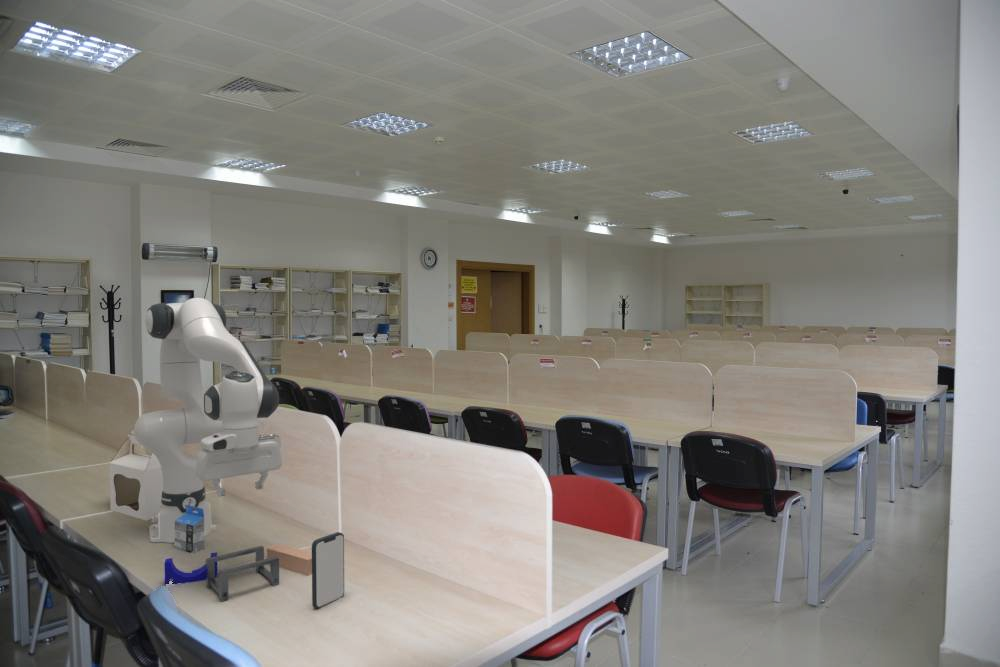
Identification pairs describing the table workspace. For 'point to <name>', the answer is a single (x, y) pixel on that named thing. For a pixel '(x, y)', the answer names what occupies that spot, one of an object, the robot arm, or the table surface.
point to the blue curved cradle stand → (183, 577)
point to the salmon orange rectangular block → (292, 558)
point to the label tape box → (190, 530)
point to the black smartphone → (327, 569)
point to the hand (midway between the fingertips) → (240, 492)
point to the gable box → (135, 480)
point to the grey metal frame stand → (240, 569)
